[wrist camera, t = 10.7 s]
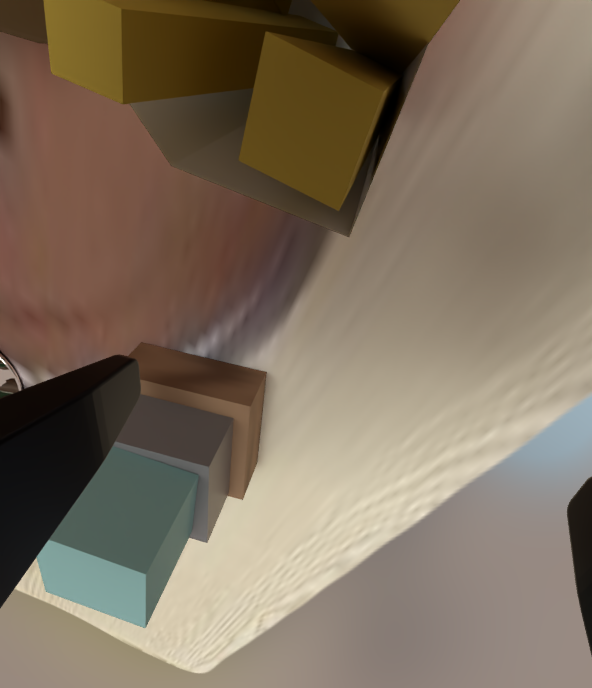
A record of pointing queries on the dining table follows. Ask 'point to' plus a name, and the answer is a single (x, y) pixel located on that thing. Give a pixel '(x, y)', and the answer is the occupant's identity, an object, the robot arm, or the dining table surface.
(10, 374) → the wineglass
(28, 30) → the cork
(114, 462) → the teal cube
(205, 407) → the walnut slab
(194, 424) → the charcoal block
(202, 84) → the french fries container
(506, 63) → the dining table surface
